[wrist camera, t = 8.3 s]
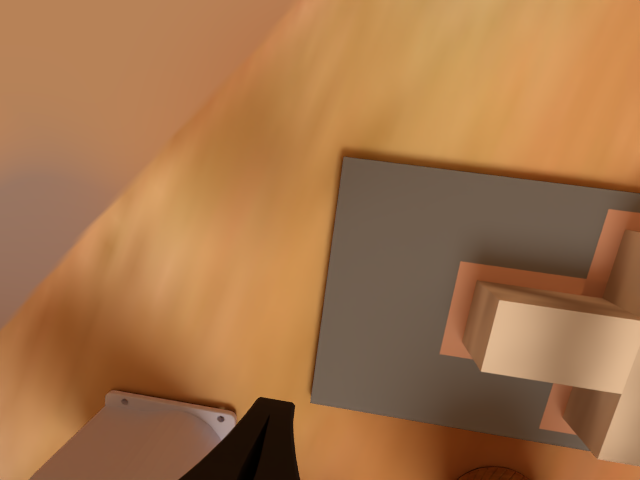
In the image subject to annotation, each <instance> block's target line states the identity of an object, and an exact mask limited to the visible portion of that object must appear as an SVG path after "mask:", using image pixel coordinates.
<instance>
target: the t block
mask: <svg viewBox="0 0 640 480" xmlns="http://www.w3.org/2000/svg"><path fill="white" fill-rule="evenodd" d="M462 343H463V344H464V346H465V348H466V349H467V351H468V352H469V354H470V355H471V357H472V358H473V360H474V362H475V363H476V365H477V366H478V368H479V369H480V371H481V372H487V373H493V374H499V375H506V376H512V377H518V378H524V379H530V380H537V381H543V382H549V383H555V384H562V385H568V386H573V388H572V391H571V394H570V397H569V400H568V403H567V406H566V409H565V412H564V415H563V419H564V420H565V421H566V423H567V424H568V425H569V426H570V427H571V429H572V430H573V431H574V432H575V433H576V434H577V436H578V437H579V438H580V439H581V440H582V441H583V443H584V444H585V445H586V446H587V447H588V449H589V450H590V451H591V452H592V453H593V454H594V456H595V457H596V458H597V459H600V460H605V461H611V462H617V463H623V464H629V465H634V466H640V232H639V231H632V230H625V231H624V234H623V237H622V240H621V243H620V246H619V249H618V252H617V255H616V258H615V261H614V264H613V267H612V270H611V273H610V276H609V279H608V282H607V285H606V288H605V291H604V294H603V297H602V298H597V297H590V296H583V295H576V294H569V293H562V292H555V291H548V290H542V289H535V288H528V287H521V286H514V285H507V284H500V283H493V282H486V281H479V280H477V282H476V286H475V290H474V294H473V298H472V303H471V307H470V311H469V315H468V319H467V323H466V327H465V332H464V336H463V340H462Z"/></svg>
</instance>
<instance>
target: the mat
mask: <svg viewBox="0 0 640 480" xmlns="http://www.w3.org/2000/svg"><path fill="white" fill-rule="evenodd" d="M625 230H632V231H639V232H640V194H639V193H631V192H623V191H615V190H607V189H599V188H591V187H583V186H575V185H567V184H559V183H551V182H543V181H535V180H527V179H519V178H511V177H503V176H495V175H487V174H479V173H471V172H463V171H455V170H447V169H439V168H431V167H423V166H415V165H407V164H398V163H390V162H382V161H374V160H366V159H358V158H350V157H344V158H343V165H342V173H341V180H340V187H339V195H338V202H337V210H336V217H335V224H334V232H333V239H332V247H331V254H330V261H329V269H328V276H327V284H326V291H325V298H324V306H323V313H322V321H321V328H320V335H319V343H318V350H317V357H316V365H315V372H314V380H313V387H312V394H311V402H310V403H314V404H320V405H325V406H331V407H337V408H343V409H349V410H354V411H360V412H366V413H372V414H378V415H383V416H389V417H395V418H401V419H407V420H412V421H418V422H424V423H430V424H436V425H441V426H447V427H453V428H459V429H464V430H470V431H476V432H482V433H488V434H493V435H499V436H505V437H511V438H517V439H522V440H528V441H534V442H540V443H546V444H551V445H557V446H563V447H569V448H575V449H580V450H586V451H590V450H589V449H588V447H587V446H586V445H585V444H584V443H583V441H582V440H581V439H580V438H579V437H578V436H577V434H576V433H575V432H574V431H573V430H572V429H571V427H570V426H569V425H568V424H567V423H566V421H565V420H564V419H563V415H564V412H565V409H566V406H567V403H568V400H569V397H570V394H571V391H572V388H573V386H568V385H562V384H555V383H549V382H543V381H537V380H530V379H524V378H518V377H512V376H506V375H499V374H493V373H487V372H481V371H480V369H479V368H478V366H477V365H476V363H475V362H474V360H473V358H472V357H471V355H470V354H469V352H468V351H467V349H466V348H465V346H464V344H463V343H462V340H463V336H464V332H465V327H466V323H467V319H468V315H469V311H470V307H471V303H472V298H473V294H474V290H475V286H476V282H477V280H479V281H486V282H493V283H500V284H507V285H514V286H521V287H528V288H535V289H542V290H548V291H555V292H562V293H569V294H576V295H583V296H590V297H597V298H602V297H603V294H604V291H605V288H606V285H607V282H608V279H609V276H610V273H611V270H612V267H613V264H614V261H615V258H616V255H617V252H618V249H619V246H620V243H621V240H622V237H623V234H624V231H625Z"/></svg>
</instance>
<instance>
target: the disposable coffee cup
mask: <svg viewBox="0 0 640 480" xmlns="http://www.w3.org/2000/svg"><path fill="white" fill-rule="evenodd" d="M458 480H529V479H528V478H526V477H525V476H523V475H522V474H520V473H518V472H516V471H513V470H511V469H507V468H501V467H485V468H480V469H476V470H473V471H471V472H468V473H466V474H465V475H463V476H462V477H460V478H459V479H458Z"/></svg>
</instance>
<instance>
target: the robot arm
mask: <svg viewBox="0 0 640 480" xmlns="http://www.w3.org/2000/svg"><path fill="white" fill-rule="evenodd" d="M126 400H127V401H126ZM294 410H295V405H294V404H293V403H292V402H286V401H280V400H275V399H269V398H263V397H260V398H258V399H257V400H256V401H255V403H254V404H253V405H252V407H251V408H250V409H249V410H248V412H247V413H246V414H245V415H244V417H243V418H242V419H241V420H240V421H239V422H238V423H237V425H236V414H235V413H234V412H232V411H229V410H223V409H218V408H212V407H207V406H201V405H195V404H190V403H184V402H178V401H173V400H167V399H161V398H156V397H150V396H144V395H139V394H133V393H127V392H122V391H116V390H111V391H110V392H108V393H107V394H106V396H105V406H104V407H103V408H102V409H101V410H100V411H99V412H98V413H97V414H96V415H95V416H94V417H93V418H92V419H91V420H90V421H88V422H87V423H86V424H85V425H84V426H83V427H82V428H81V429H80V430H79V431H78V432H77V433H76V434H75V435H74V436H73V437H72V438H71V439H70V440H69V441H68V442H67V443H66V444H65V445H64V446H63V447H61V448H60V449H59V450H58V451H57V452H56V453H55V454H54V455H53V456H52V457H51V458H50V459H49V460H48V461H47V462H46V463H45V464H44V465H43V466H42V467H41V468H40V469H39V470H38V471H37V472H36V473H35V474H34V475H33V476H32V477H31V478H30V479H29V480H300V477H299V472H298V466H297V461H296V454H295V445H294V435H293V418H294ZM220 416H222V417H224V418H221V417H220Z"/></svg>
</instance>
